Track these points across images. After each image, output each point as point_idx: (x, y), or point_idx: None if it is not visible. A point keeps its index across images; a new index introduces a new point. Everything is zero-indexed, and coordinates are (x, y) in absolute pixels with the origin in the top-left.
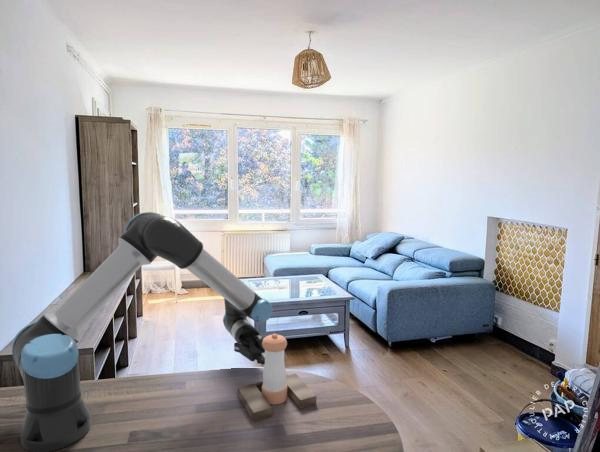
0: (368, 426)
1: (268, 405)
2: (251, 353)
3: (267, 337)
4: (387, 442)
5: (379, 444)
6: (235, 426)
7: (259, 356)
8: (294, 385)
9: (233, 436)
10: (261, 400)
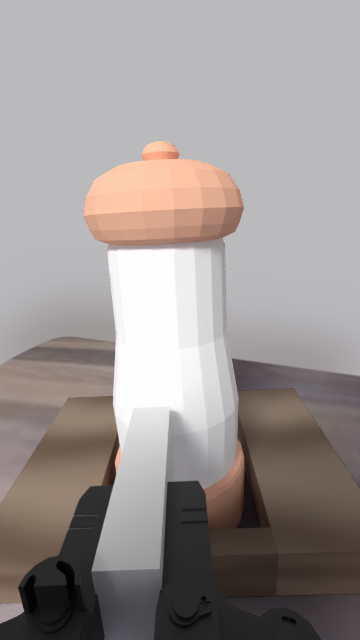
0: (50, 358)
1: (239, 399)
2: (311, 636)
3: (204, 162)
4: (65, 339)
5: (79, 339)
6: (352, 414)
7: (201, 559)
8: (80, 460)
9: (351, 391)
10: (258, 421)
